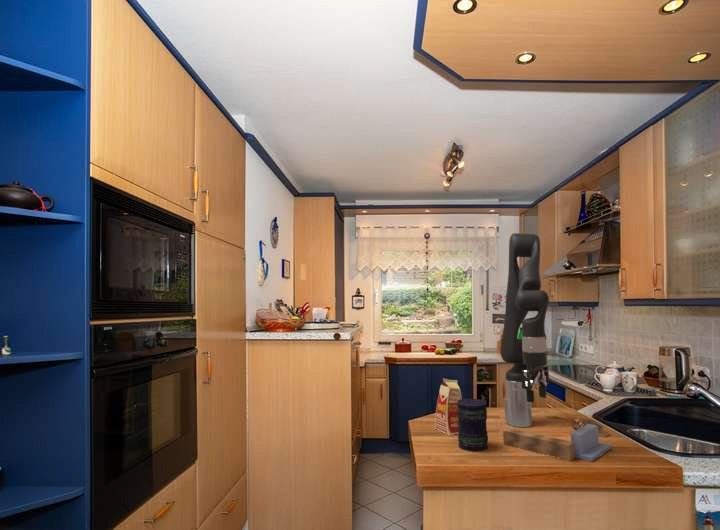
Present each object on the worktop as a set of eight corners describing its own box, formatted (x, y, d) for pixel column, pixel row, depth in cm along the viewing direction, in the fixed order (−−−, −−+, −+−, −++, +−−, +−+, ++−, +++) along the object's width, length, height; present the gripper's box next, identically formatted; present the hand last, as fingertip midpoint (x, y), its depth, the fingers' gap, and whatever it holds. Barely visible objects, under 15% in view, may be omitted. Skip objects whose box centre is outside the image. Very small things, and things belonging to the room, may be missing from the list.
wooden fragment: (615, 439, 157) (614, 436, 157) (581, 438, 159) (581, 435, 159) (592, 419, 182) (592, 416, 182) (563, 418, 184) (563, 416, 184)
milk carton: (448, 436, 163) (447, 380, 164) (433, 429, 171) (432, 376, 172) (468, 432, 167) (466, 378, 168) (452, 426, 175) (450, 374, 176)
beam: (503, 445, 153) (503, 430, 153) (509, 442, 155) (508, 428, 156) (570, 462, 137) (569, 445, 137) (575, 458, 140) (574, 442, 140)
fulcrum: (559, 453, 143) (558, 431, 144) (579, 441, 154) (578, 421, 154) (592, 461, 136) (590, 438, 136) (611, 449, 147) (610, 427, 147)
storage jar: (487, 453, 145) (485, 406, 146) (456, 450, 148) (454, 404, 149) (489, 443, 154) (487, 399, 155) (460, 440, 157) (459, 397, 158)
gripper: (533, 347, 156) (536, 394, 155) (513, 351, 147) (515, 401, 145) (555, 348, 151) (557, 397, 149) (535, 353, 141) (537, 405, 140)
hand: (536, 399), depth 147 cm, fingers open, 8 cm apart
